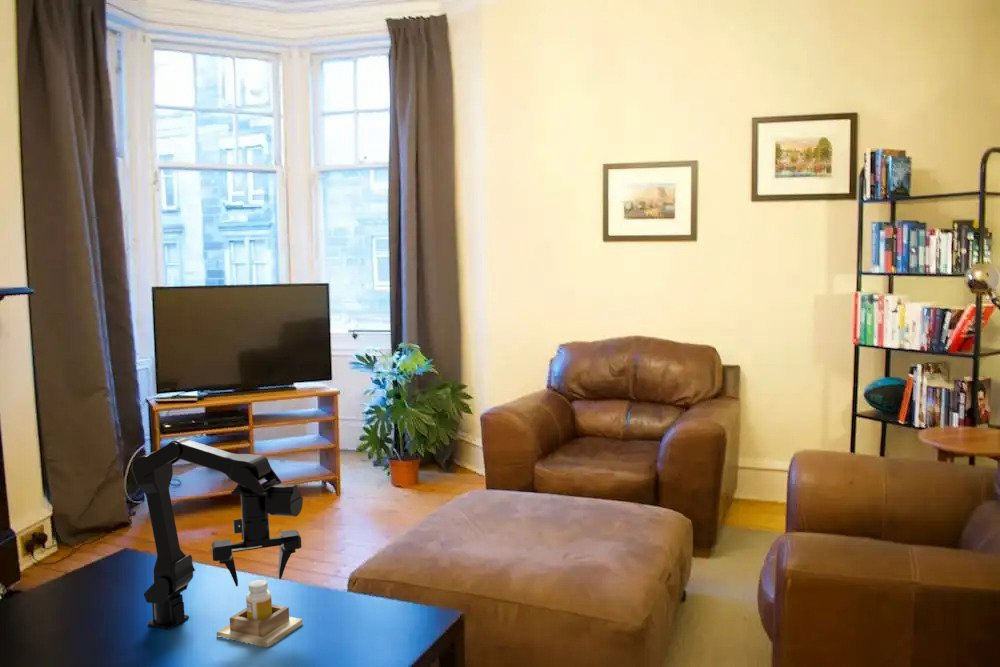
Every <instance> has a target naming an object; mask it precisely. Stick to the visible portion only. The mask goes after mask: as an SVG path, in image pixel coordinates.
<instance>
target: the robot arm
mask: <svg viewBox="0 0 1000 667" xmlns="http://www.w3.org/2000/svg"><path fill="white" fill-rule="evenodd" d="M181 460H182V461H185V462H188V463H192V464H194V465H197V466H201V467H204V468H207V469H210V470H213V471H216V472H219V473H221V474H224V475H226V476H227V478H228V479H229V480H230V481H231V482H234V483H235V484H237V486H236V487H235V488H234V489H233V490H232V491H231V492H230V495H231V496H232V495H233V496H240V510H241V518H239V519H238V518H237V519H236V518H235V519H233V522H232V523H233V534H234V535H237V534H238V535H239V534H241V540H242V541H241V542H233V543H232V541H231V538H228V539H227V538H226V539H220V540H213V541H212V543H211V556H212V561H213V562H219V564H220V565H223V564H224V565H225V567H226V569H228V572H229V573H230V576H231V578H232V580H233V582H234V584H235V587H238V586H239V580H238V574H237V570H236V564H235V559H234V556H233V555H234V554H233V553H238V552H245V551H252V550H258V549H265V548H271V547H278V548H279V553H278V555H279V556H278V570H277V573H278V574H277V575H278V580H281V579H282V578H283V574H284V572H285V569H286V565H287V564H288V561H289V559H290V558H291V555H292V554H295V553H296V552H297V551H296V550H299V549H302V537H301V535H300V533H299V531H298V530H297V529H290V530H284V531H280V532H279V533H280V534H279V536H274V537H271V535H270V534H271V533H270V515H271V516H277V517H294V518H295V517H298V516H299V515H300V514H301V511H302V509H303V502H304V498H303V496H302V493H301V491H300V490H299V489H298V484H292V483H291V484H282V481H281V479H280V478H279V476H278V475H277V474H276V473H275V471H274V469H273V468H272V466H271V463H270V462H269V459H268V458H267V457H266V456H263V455H262V454H251V453H233V452H229V451H226V450H223V449H220V448H216V447H213V446H210V445H207V444H204V443H200V442H197V441H193V440H191V439H190V438H187V437H180V438H178V439H175V440H173V441H170V442H169V443H168V444H166V445H164V446H163V447H161V448H160V449H157V450H155V451H152V452H150V453H149V452H148V453H147V454H144V455H142V456H139V457H137V458H135V459H134V462H133V463H132V464H131V471H132V474H133V477H134V480H135V483H136V485H137V487H138V488H139V489H140V490H141V491H142V492H143V493H144V495H145V499H146V502H147V508H148V513H149V519H150V523H151V524H150V525H151V529H152V535H153V538H154V544H155V549H156V550H155V551H156V559H155V562H154V567H153V572H152V573H153V574H152V575H153V576H152V577H153V583H152V585H151V586H150V587H149V588H148V589H147V590H146V591H145V592H144V593H143V597H144V599H145V602H146V603H148V604H151V606H152V607H151V608H152V619H151V620H150V621H148V622H147V626H150V625H151V626H150V627H155V628H161V629H165V630H169V629H172V628H174V627H176V626H177V625H179V624H181V623H182V622H184V621H186V620H188V619H189V618H190V616H189V615H188V614H185V602H184V599H183V594H181V593H182V592H184V591H186V590H188V587H189V583H191V581H192V580H193V577H194V572H195V571H196V568H195V566H194V564H193V557H192V555H191V554H187V555H186V554H185V553H184V552H183V550H182V549H181V546H180V541H179V536H178V530H177V527H176V526H177V525H176V520H175V515H174V510H173V505H172V499H171V495H170V494H171V493H170V487H171V482H172V479H173V476H174V474H173V471H174V470H173V465H174V464H176V463H177V462H179V461H181ZM263 481H264V482H263ZM261 482H262V483H261Z"/></svg>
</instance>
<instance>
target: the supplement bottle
mask: <svg viewBox="0 0 1000 667" xmlns="http://www.w3.org/2000/svg"><path fill="white" fill-rule="evenodd" d="M268 586H269V585H268V580H265V579H258V580H253V581H250V582H249V584H248V591H249V592H248V593H247V594H246V597H245V598H246V599H245V600H246V602H245V603H246V608H247V618H249V619H255V620H260V621H262V620H264V619H266V618H267V617H269V616H270V615H272V604H273V603H272V592H271V591H270V590H269V588H268Z"/></svg>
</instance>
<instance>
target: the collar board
mask: <svg viewBox="0 0 1000 667" xmlns="http://www.w3.org/2000/svg"><path fill="white" fill-rule="evenodd" d="M303 622H304V621H303V619H302V618H299V617H293V616H290V606H283V605H278V604H273V603H272V615H270V616H269V617H267V618H266V619H264V620H262V621H260V620H255V619H249V618H247V607H245V608H243V609H242V610H240V611H238V612H237V613H235V614H233V615H232V616H230V617H229V624H227V625H225V626H224V627H223V628H221V629H219V630H218V631H216V637H217V636H221V637H225V638H229V639H234V640H237V641H236V642H238V641H242V642H241V643H243V642H245V643H244V644H248V643H250V645H253V644H255V645H254V646H257V645H259V646H258V647H262V646H264V647H263V648H267V647H269V646H270V647H272V646H273V645H275V644H276V643H278V642H279V641H281V640H282V639H283V638H285V637H286V636H287V635H289V634H291V633H292V632H294V631H295V630H296V629H298V628H300V627H301V626H302V625H304V623H303ZM229 639H228V640H229ZM274 643H275V644H274ZM271 645H272V646H271ZM270 647H269V648H270Z"/></svg>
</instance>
